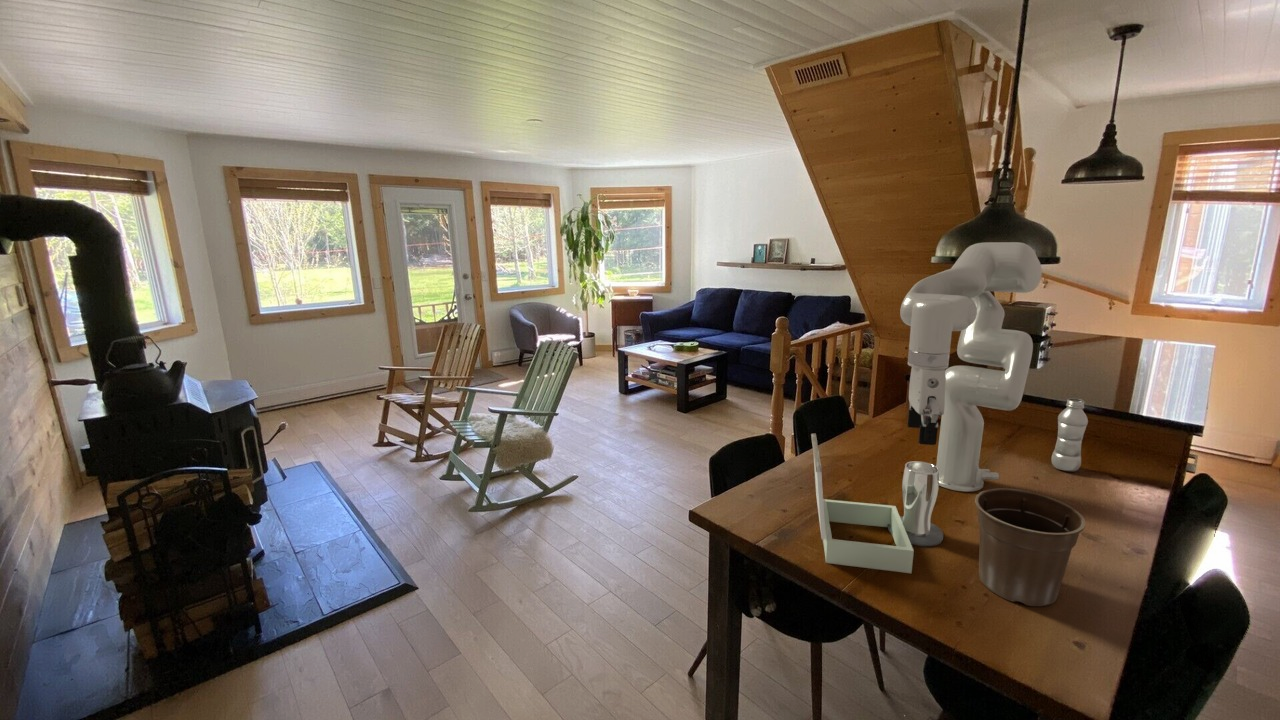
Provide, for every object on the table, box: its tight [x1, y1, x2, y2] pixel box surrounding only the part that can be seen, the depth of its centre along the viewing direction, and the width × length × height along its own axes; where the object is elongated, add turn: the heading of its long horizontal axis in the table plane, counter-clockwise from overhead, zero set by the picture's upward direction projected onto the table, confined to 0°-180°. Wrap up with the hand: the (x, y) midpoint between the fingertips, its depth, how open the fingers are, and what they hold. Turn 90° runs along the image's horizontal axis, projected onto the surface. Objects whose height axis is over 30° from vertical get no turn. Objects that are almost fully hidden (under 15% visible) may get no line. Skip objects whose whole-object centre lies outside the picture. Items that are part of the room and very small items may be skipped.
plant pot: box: [974, 488, 1086, 607], centre depth 98 cm, size 16×16×16 cm
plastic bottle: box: [1051, 397, 1089, 472], centre depth 145 cm, size 6×7×20 cm
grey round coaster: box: [887, 516, 944, 547], centre depth 119 cm, size 11×11×1 cm
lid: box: [810, 433, 826, 541], centre depth 115 cm, size 16×18×1 cm
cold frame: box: [822, 498, 915, 574], centre depth 115 cm, size 16×18×5 cm
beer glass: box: [901, 460, 939, 537], centre depth 117 cm, size 7×7×15 cm
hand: (921, 435), depth 115 cm, fingers open, 9 cm apart
